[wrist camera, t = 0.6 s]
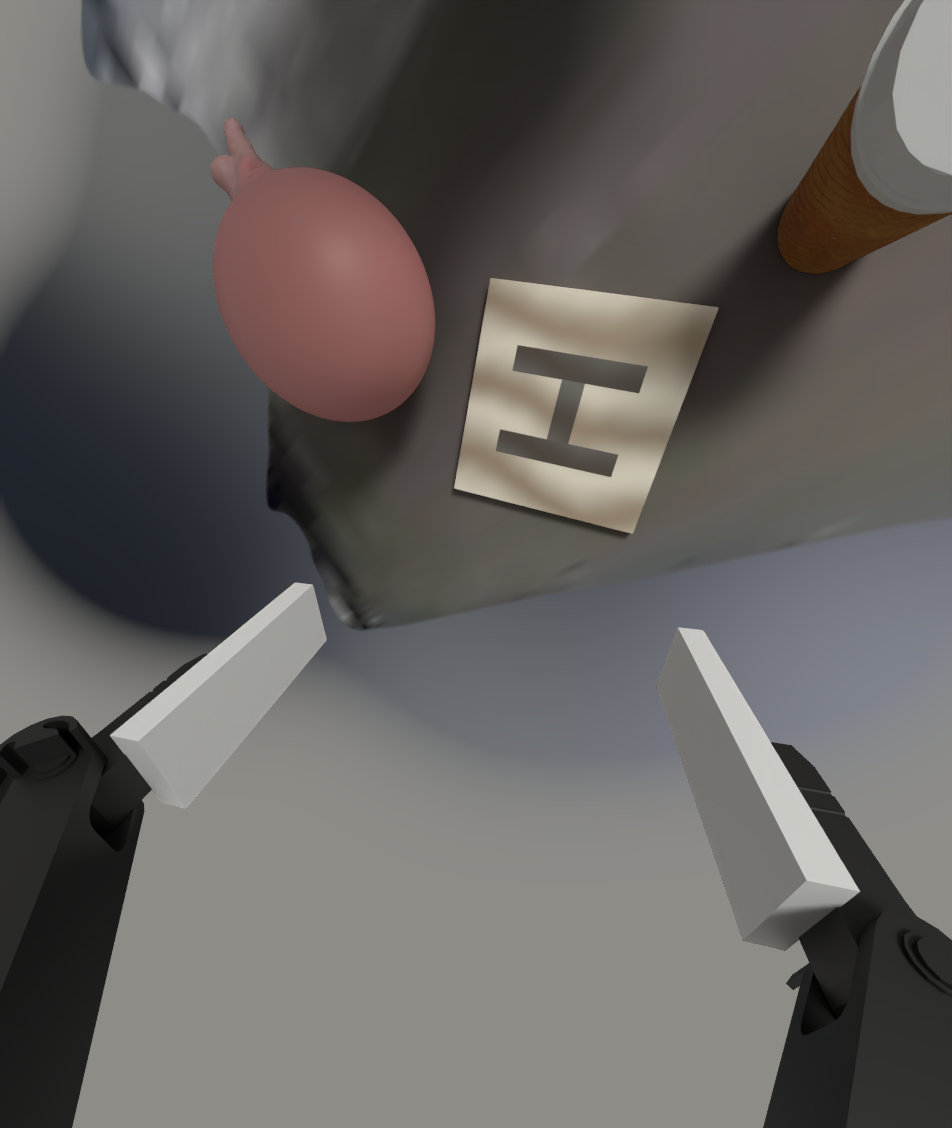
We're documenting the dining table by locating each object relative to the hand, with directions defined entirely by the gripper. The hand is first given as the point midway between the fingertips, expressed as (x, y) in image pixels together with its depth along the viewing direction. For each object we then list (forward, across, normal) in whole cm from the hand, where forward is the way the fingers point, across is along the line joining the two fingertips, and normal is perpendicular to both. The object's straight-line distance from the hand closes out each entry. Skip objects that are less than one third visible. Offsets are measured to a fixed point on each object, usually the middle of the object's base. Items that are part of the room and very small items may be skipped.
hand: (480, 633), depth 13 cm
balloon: (+29, -15, +13) cm, 35 cm away
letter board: (+26, +3, +5) cm, 26 cm away
